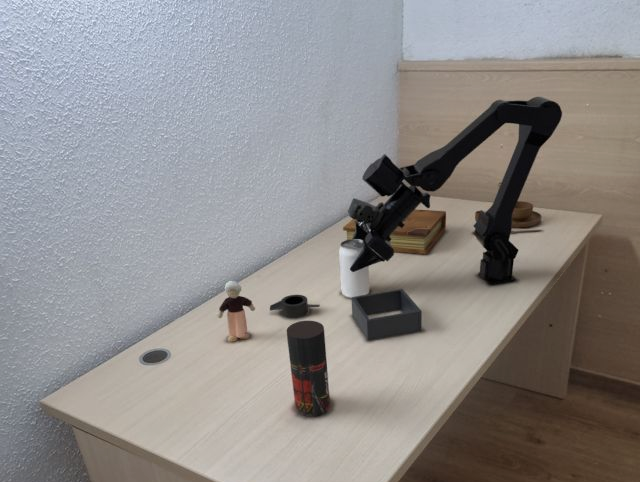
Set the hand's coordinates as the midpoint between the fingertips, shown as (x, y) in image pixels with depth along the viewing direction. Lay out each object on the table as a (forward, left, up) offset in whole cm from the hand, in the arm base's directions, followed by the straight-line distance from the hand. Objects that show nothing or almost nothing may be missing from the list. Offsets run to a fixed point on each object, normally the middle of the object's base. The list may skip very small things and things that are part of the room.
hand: (348, 262), depth 137 cm
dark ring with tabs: (+14, +5, -8) cm, 17 cm away
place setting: (-53, -28, -8) cm, 61 cm away
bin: (-3, +17, -8) cm, 19 cm away
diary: (-21, -29, -8) cm, 37 cm away
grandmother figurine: (+27, +12, -8) cm, 30 cm away
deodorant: (+18, +41, -8) cm, 45 cm away
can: (-1, 0, -8) cm, 8 cm away
